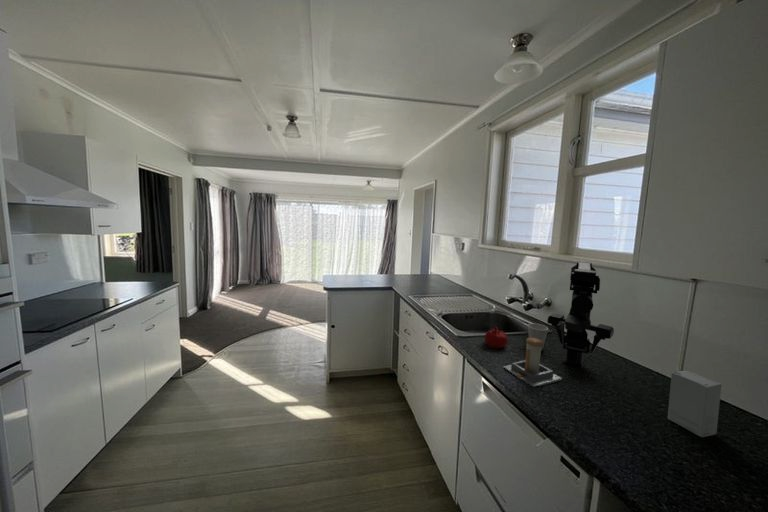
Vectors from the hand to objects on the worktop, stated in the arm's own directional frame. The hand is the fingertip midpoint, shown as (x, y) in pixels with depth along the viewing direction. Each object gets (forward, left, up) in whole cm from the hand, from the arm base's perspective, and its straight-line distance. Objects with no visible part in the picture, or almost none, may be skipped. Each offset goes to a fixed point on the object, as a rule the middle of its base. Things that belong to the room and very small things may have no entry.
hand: (576, 348), depth 101 cm
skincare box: (0, +29, -13) cm, 32 cm away
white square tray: (+6, -12, -13) cm, 19 cm away
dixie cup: (-20, -20, -13) cm, 31 cm away
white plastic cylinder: (+6, -12, -12) cm, 18 cm away
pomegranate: (-7, -33, -13) cm, 36 cm away
